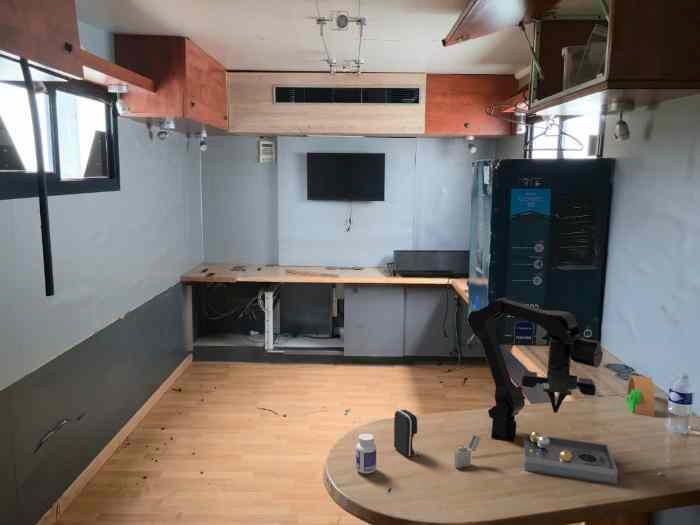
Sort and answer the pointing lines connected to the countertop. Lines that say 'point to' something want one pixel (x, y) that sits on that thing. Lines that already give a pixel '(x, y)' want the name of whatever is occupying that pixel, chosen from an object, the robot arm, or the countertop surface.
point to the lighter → (466, 452)
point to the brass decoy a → (534, 436)
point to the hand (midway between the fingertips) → (555, 412)
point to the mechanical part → (633, 400)
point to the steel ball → (543, 442)
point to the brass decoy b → (565, 456)
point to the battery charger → (404, 431)
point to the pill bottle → (366, 454)
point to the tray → (585, 465)
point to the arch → (643, 394)
